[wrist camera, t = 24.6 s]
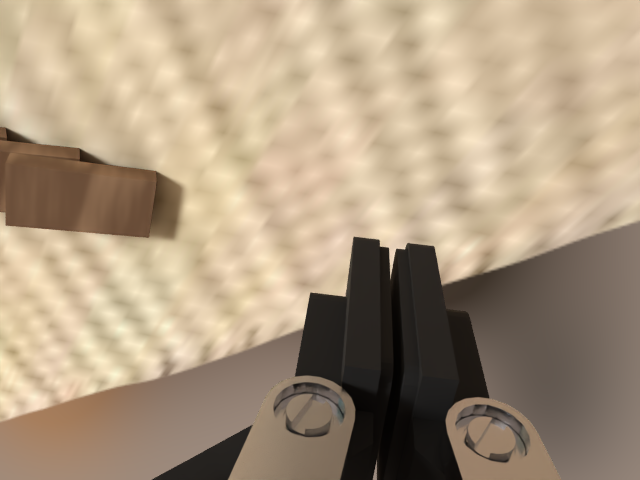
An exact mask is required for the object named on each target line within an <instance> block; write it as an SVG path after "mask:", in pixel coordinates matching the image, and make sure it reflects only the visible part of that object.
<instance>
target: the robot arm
mask: <svg viewBox="0 0 640 480" xmlns="http://www.w3.org/2000/svg"><path fill="white" fill-rule="evenodd" d="M376 460H377V480H561V478H560V476H559V474H558V472H557V470H556V468H555V467H554V464H553V462H552V461H551V459H550V457H549V455H548V453H547V451H546V449H545V447H544V445H543V443H542V441H541V439H540V437H539V435H538V433H537V432H536V430H535V428H534V427H533V425H532V424H531V422H530V421H529V420H528V419H527V418H525V417H524V416H523V415H522V414H521V413H520V412H519V411H517V410H515V409H514V408H512V407H510V406H509V405H507V404H505V403H502V402H499V401H496V400H493V399H489V395H488V390H487V386H486V382H485V378H484V374H483V370H482V366H481V362H480V358H479V353H478V349H477V345H476V341H475V337H474V333H473V329H472V325H471V321H470V317H469V314H468V313H467V312H465V311H457V310H449V309H446V307H445V302H444V296H443V290H442V285H441V280H440V274H439V269H438V263H437V258H436V253H435V248H434V246H427V245H419V244H410V243H407V245H406V249H405V250H404V249H396V252H395V257H394V263H393V268H392V274H391V280H390V261H389V248H387V247H380V241H379V240H377V239H368V238H360V237H354V238H353V245H352V253H351V260H350V268H349V275H348V283H347V290H346V297H343V296H334V295H326V294H318V293H310V298H309V303H308V308H307V314H306V319H305V325H304V330H303V336H302V341H301V347H300V353H299V358H298V363H297V369H296V374H295V377H292V378H289V379H287V380H284V381H281V382H280V383H278V384H277V385H276V386H274V387H273V388H272V389H271V390H270V392H269V393H268V395H267V396H266V397H265V400H264V402H263V404H262V406H261V409H260V411H259V413H258V415H257V417H256V419H255V422H254V424H253V425H252V426H250V427H248V428H246V429H244V430H242V431H240V432H239V433H237V434H235V435H233V436H231V437H229V438H227V439H226V440H224V441H222V442H220V443H218V444H217V445H215V446H213V447H211V448H209V449H207V450H205V451H204V452H202V453H200V454H198V455H196V456H195V457H193V458H191V459H189V460H187V461H185V462H183V463H182V464H180V465H178V466H176V467H174V468H173V469H171V470H169V471H167V472H165V473H163V474H161V475H159V476H158V477H156V478H154V479H153V480H373V475H374V470H375V465H376Z"/></svg>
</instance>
